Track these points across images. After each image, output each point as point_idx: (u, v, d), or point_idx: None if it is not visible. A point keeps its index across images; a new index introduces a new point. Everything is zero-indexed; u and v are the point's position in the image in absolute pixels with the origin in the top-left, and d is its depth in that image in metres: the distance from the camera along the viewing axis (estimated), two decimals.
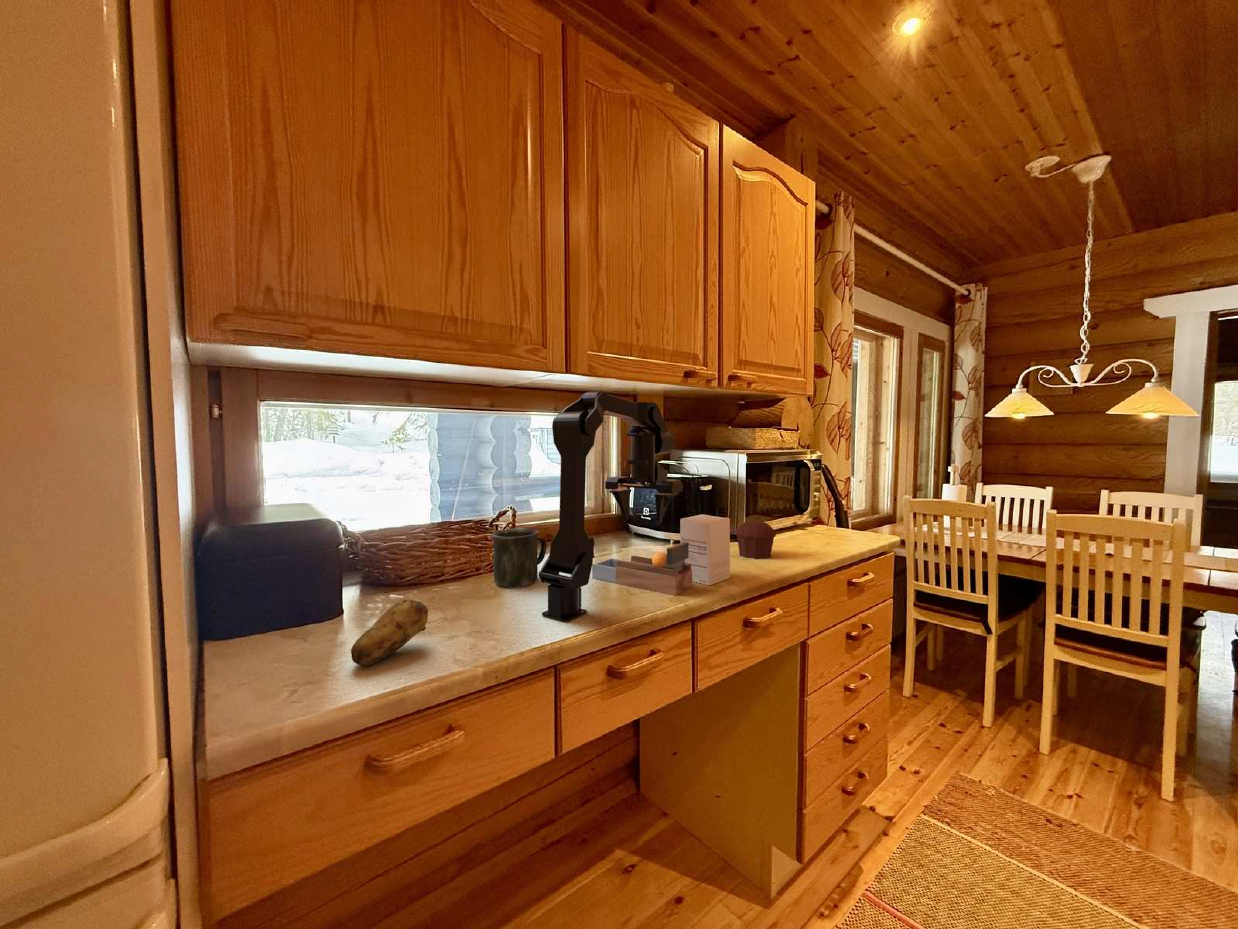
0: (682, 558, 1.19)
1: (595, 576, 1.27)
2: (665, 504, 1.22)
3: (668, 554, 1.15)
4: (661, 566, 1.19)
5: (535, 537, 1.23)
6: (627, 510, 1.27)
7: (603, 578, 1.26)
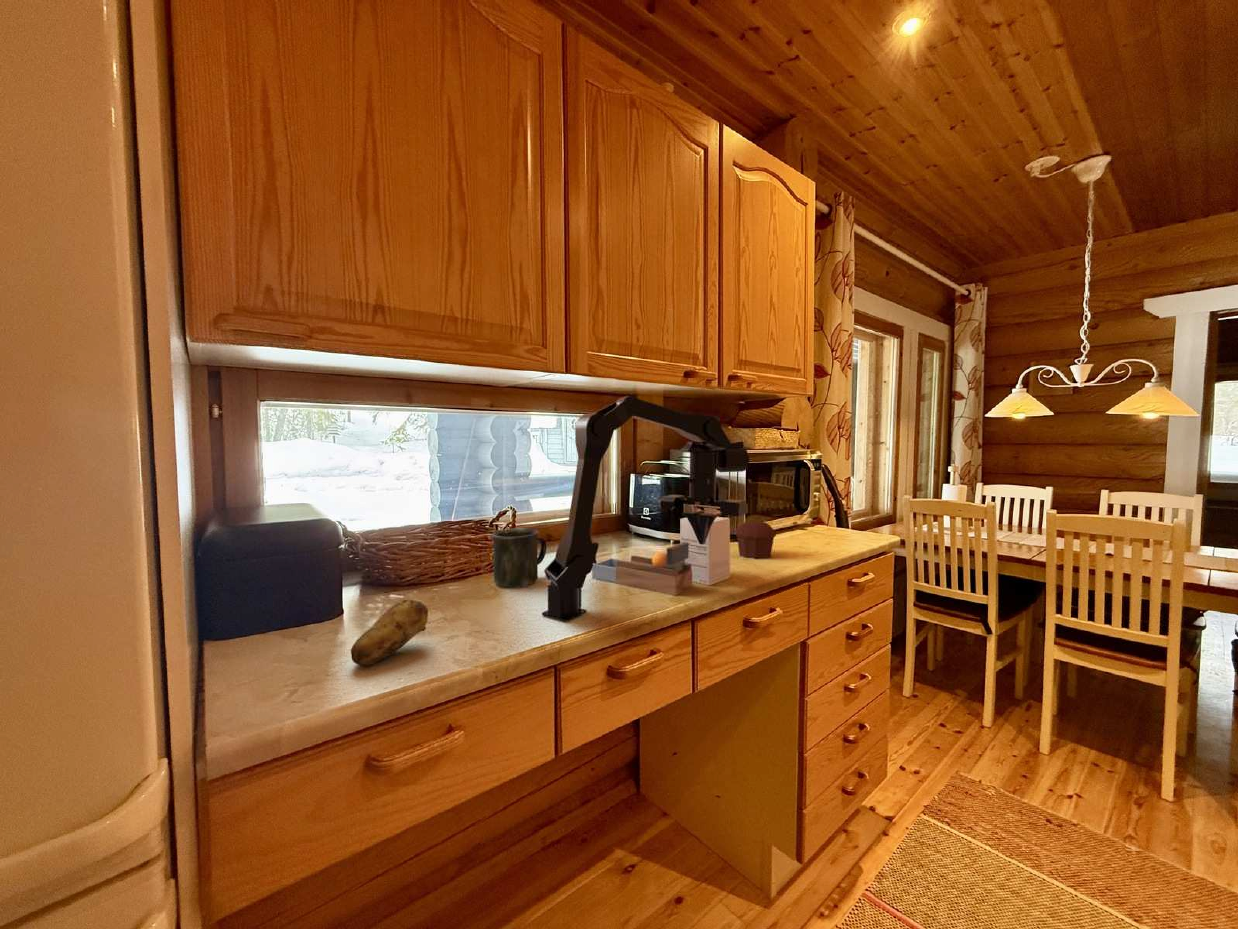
0: (682, 558, 1.19)
1: (595, 576, 1.27)
2: (709, 524, 1.14)
3: (668, 554, 1.15)
4: (661, 566, 1.19)
5: (535, 537, 1.23)
6: None
7: (603, 578, 1.26)
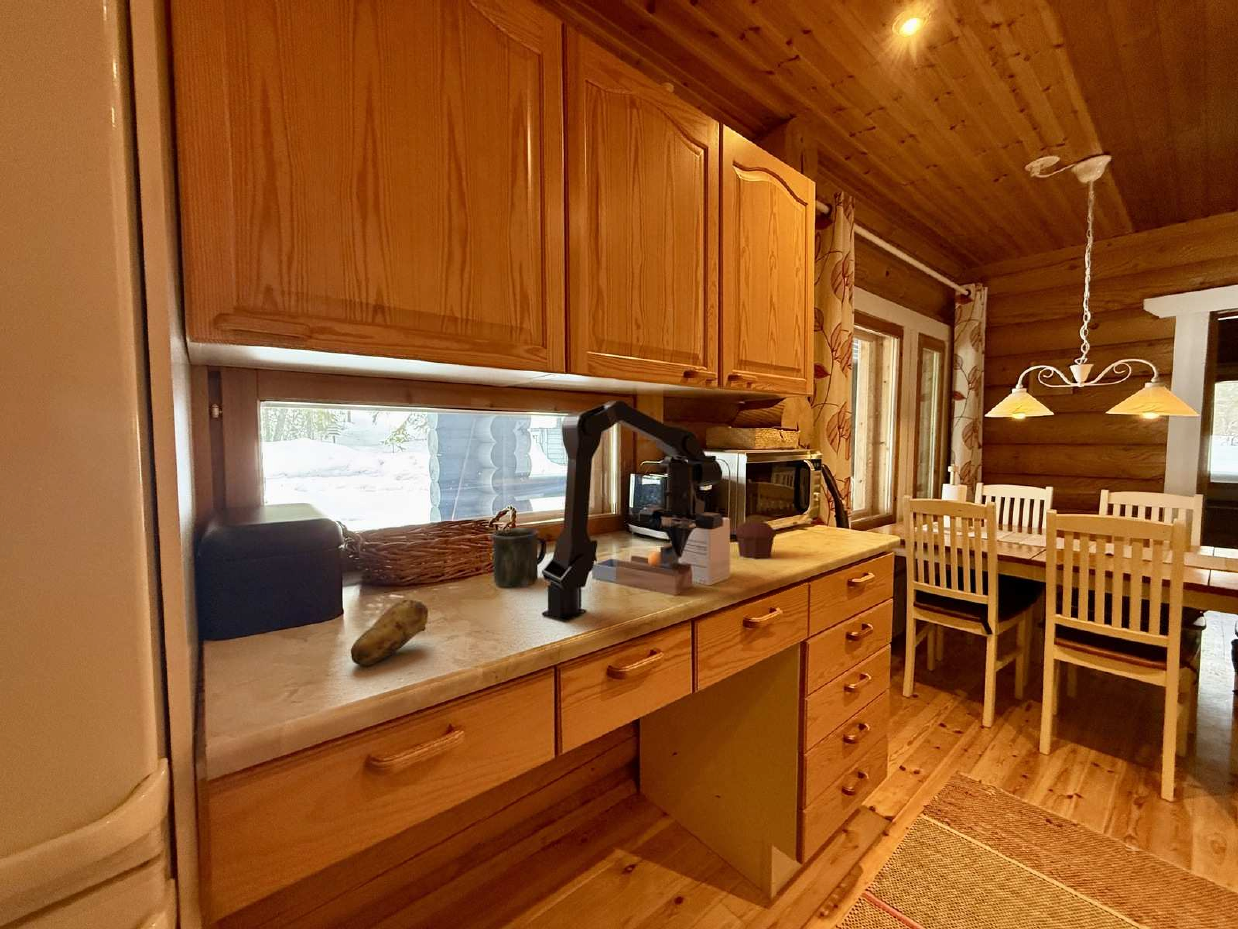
0: (675, 557, 1.20)
1: (595, 576, 1.27)
2: (686, 537, 1.17)
3: (662, 553, 1.16)
4: (658, 563, 1.20)
5: (535, 537, 1.23)
6: None
7: (603, 578, 1.26)
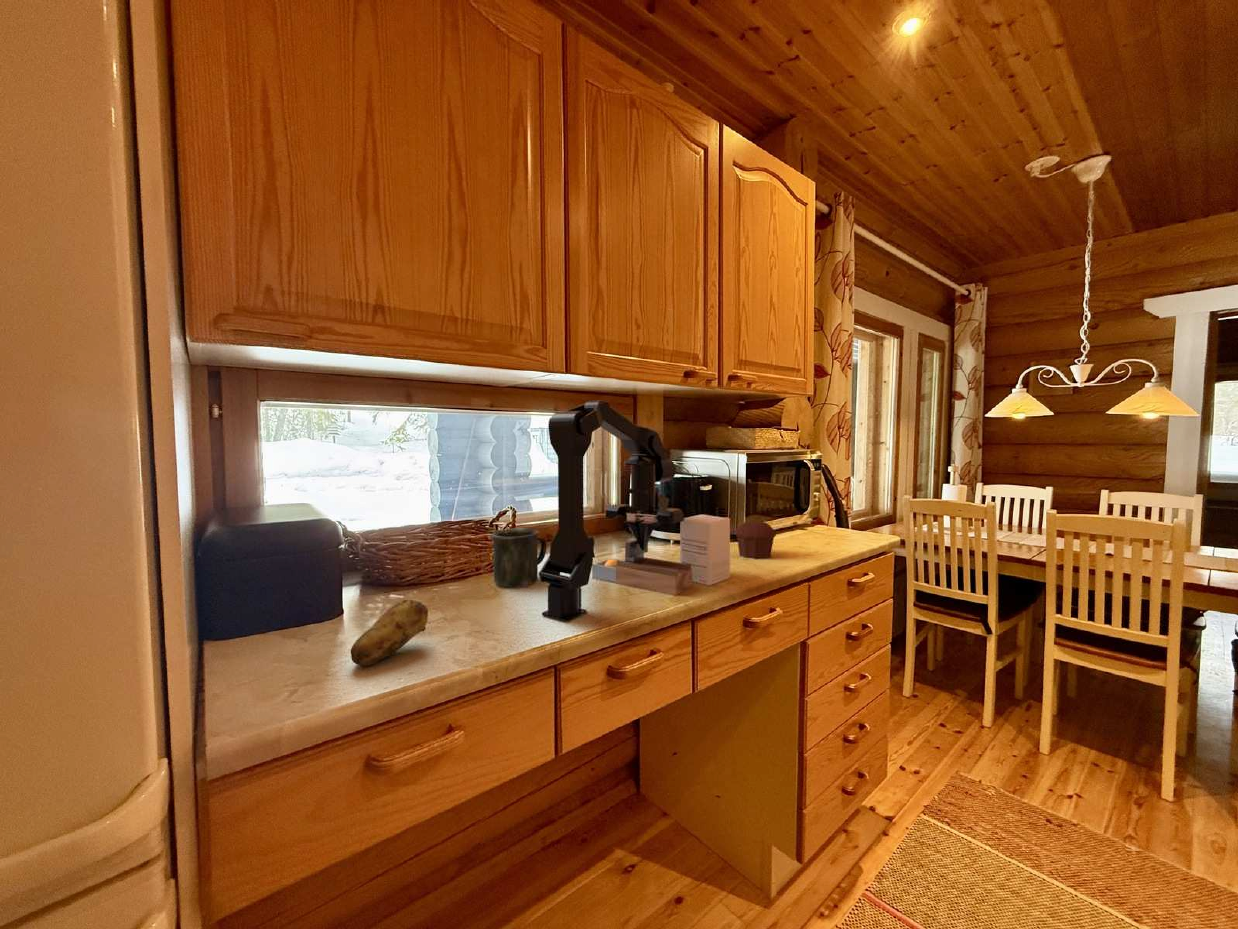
0: (641, 552, 1.25)
1: (595, 576, 1.27)
2: (649, 532, 1.23)
3: (626, 548, 1.22)
4: None
5: (535, 537, 1.23)
6: None
7: (603, 578, 1.26)
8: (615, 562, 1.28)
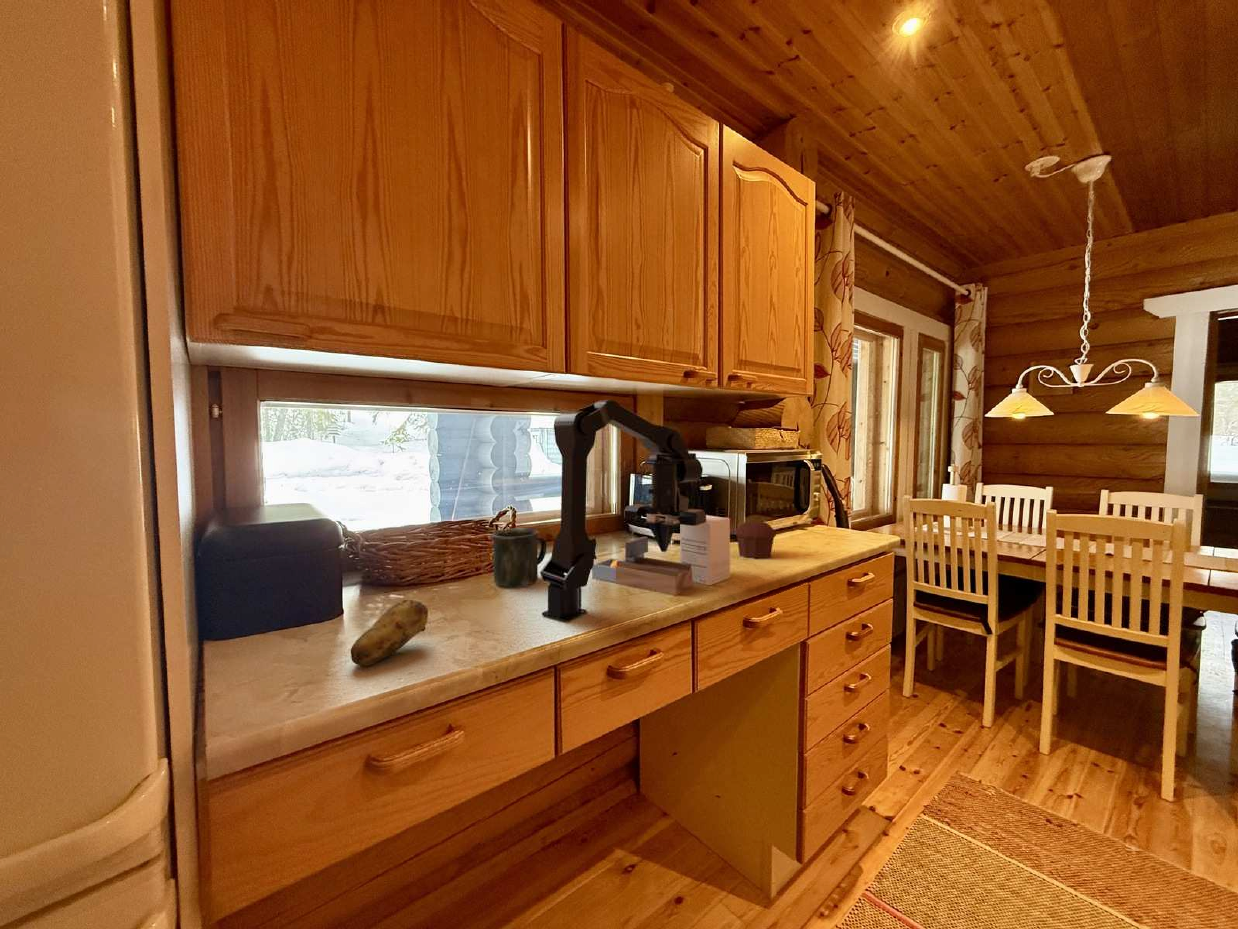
0: (641, 552, 1.25)
1: (595, 576, 1.27)
2: (670, 533, 1.20)
3: (626, 548, 1.22)
4: None
5: (535, 537, 1.23)
6: None
7: (603, 578, 1.26)
8: None
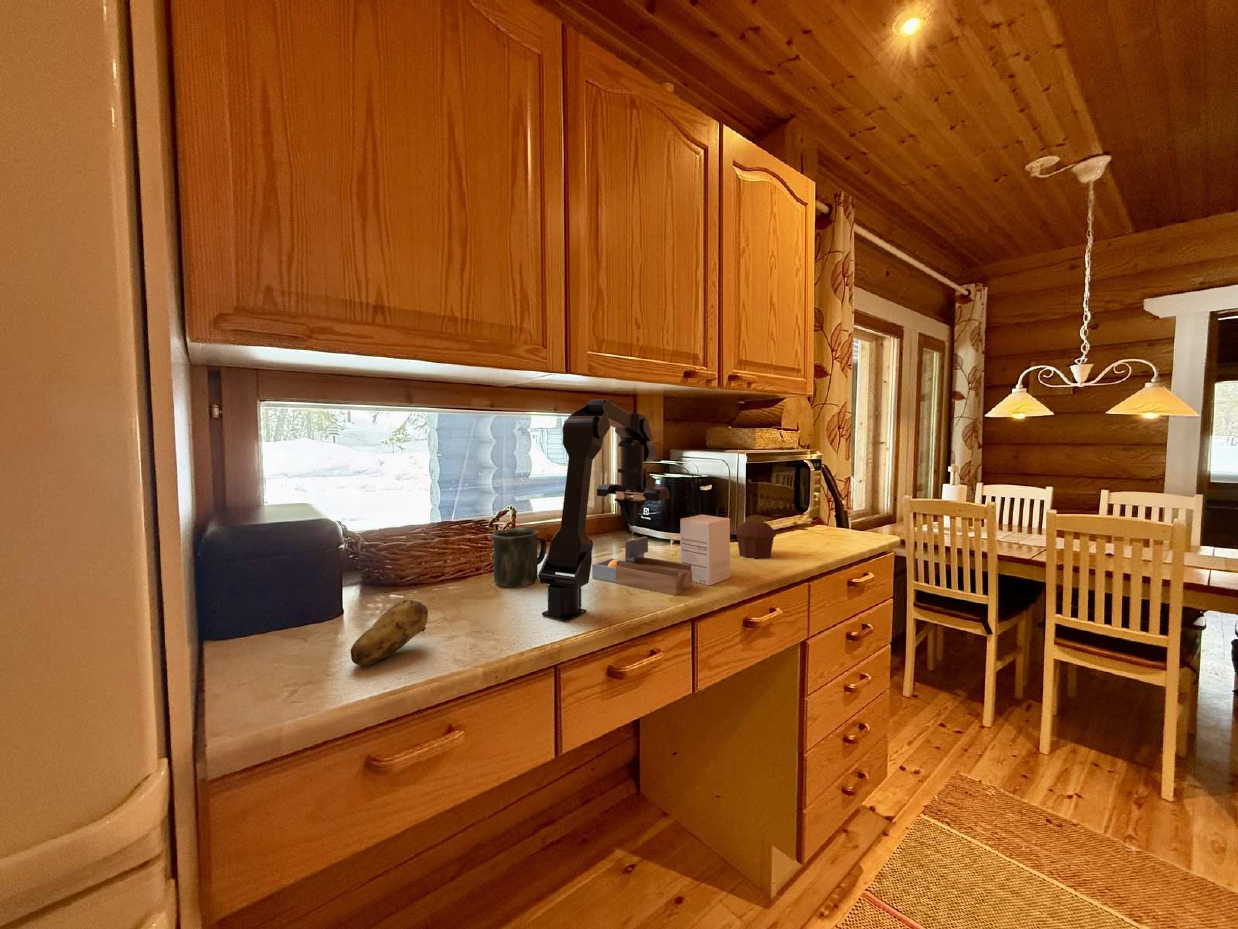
0: (641, 552, 1.25)
1: (595, 576, 1.27)
2: (638, 509, 1.32)
3: (626, 548, 1.22)
4: None
5: (535, 537, 1.23)
6: None
7: (603, 578, 1.26)
8: None
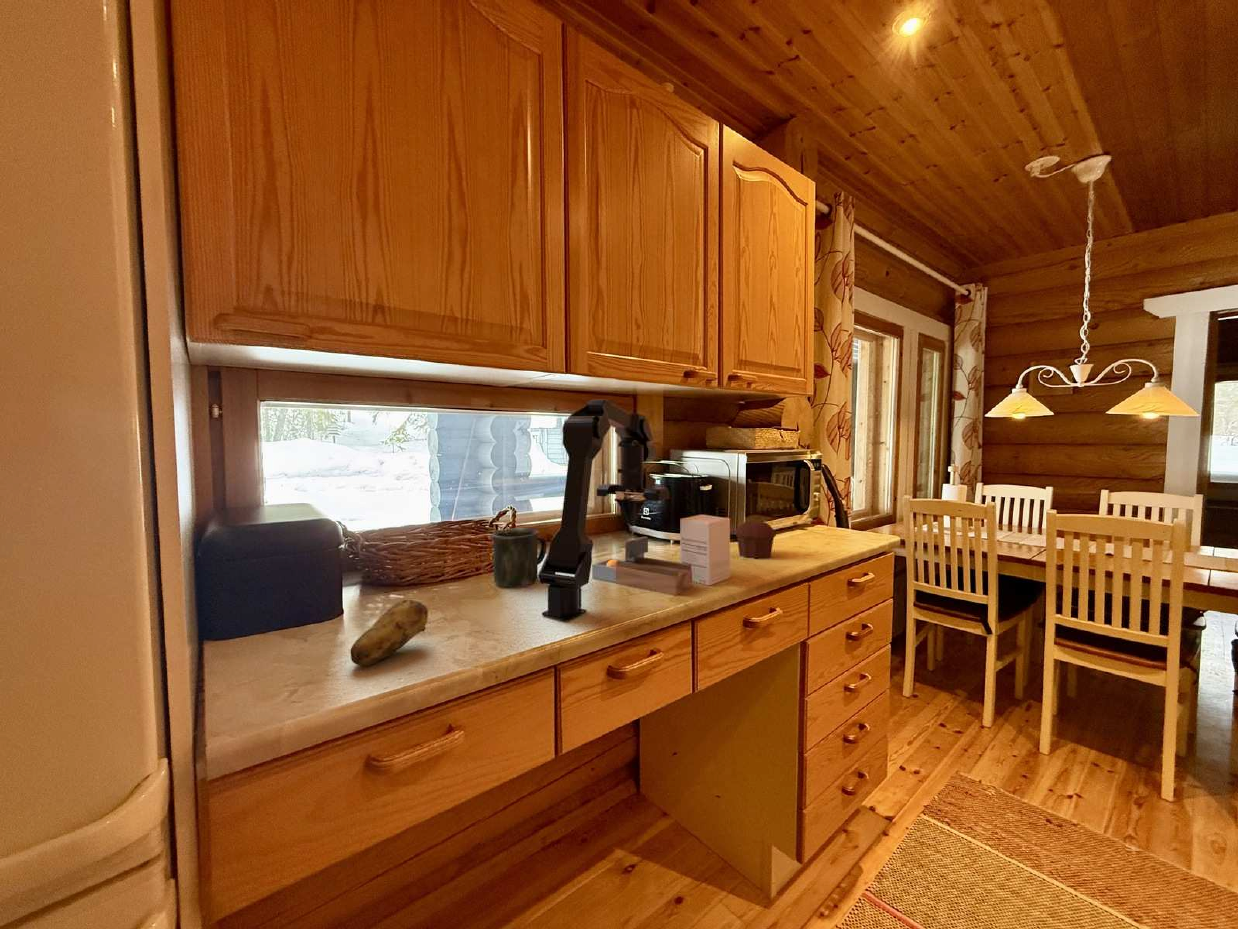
0: (641, 552, 1.25)
1: (595, 576, 1.27)
2: (638, 509, 1.32)
3: (626, 548, 1.22)
4: None
5: (535, 537, 1.23)
6: None
7: (603, 578, 1.26)
8: None
